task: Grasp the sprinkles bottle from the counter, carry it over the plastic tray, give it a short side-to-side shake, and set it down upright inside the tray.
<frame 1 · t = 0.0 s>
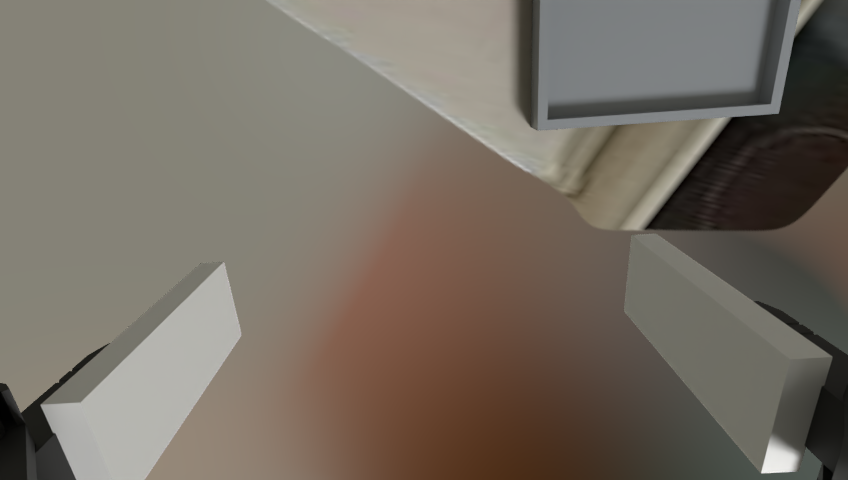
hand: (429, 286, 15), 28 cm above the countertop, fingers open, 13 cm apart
tray: (653, 19, 37), on the countertop
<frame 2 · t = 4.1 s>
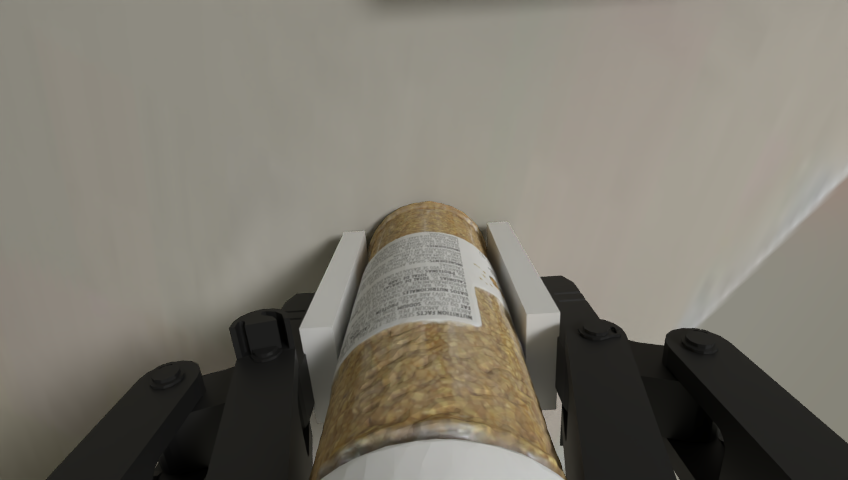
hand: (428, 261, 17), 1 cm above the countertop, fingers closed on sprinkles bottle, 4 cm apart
sprinkles bottle: (426, 252, 18), on the countertop, touching gripper
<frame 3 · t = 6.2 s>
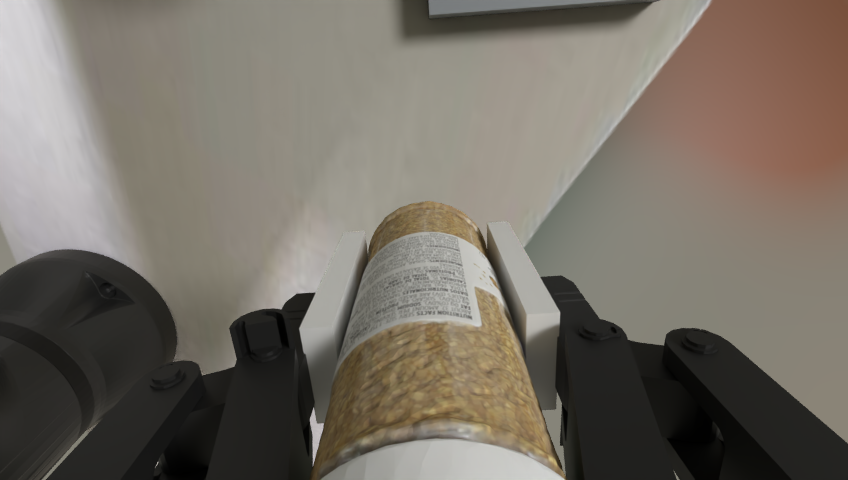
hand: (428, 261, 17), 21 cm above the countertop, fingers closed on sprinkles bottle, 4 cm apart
sprinkles bottle: (426, 252, 18), point 20 cm above the countertop, touching gripper
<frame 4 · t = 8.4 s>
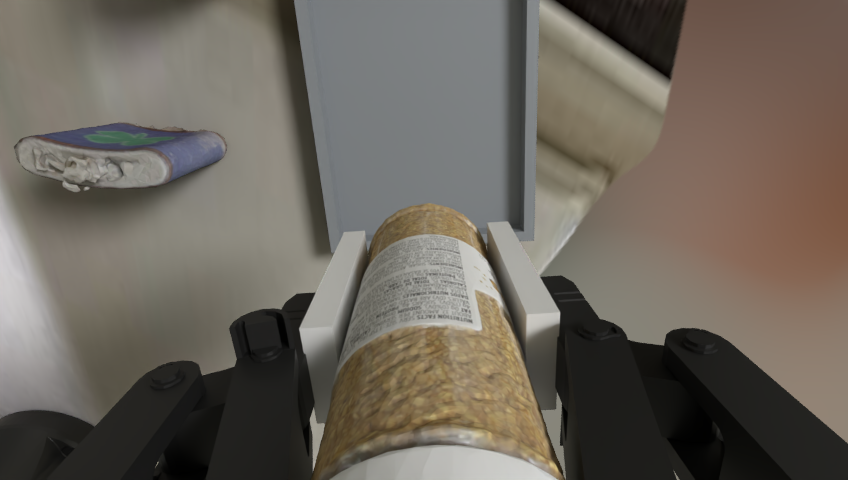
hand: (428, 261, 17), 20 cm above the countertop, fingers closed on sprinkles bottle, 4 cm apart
sprinkles bottle: (426, 254, 18), point 20 cm above the countertop, touching gripper
tray: (423, 112, 35), on the countertop
flask: (170, 142, 36), on the countertop
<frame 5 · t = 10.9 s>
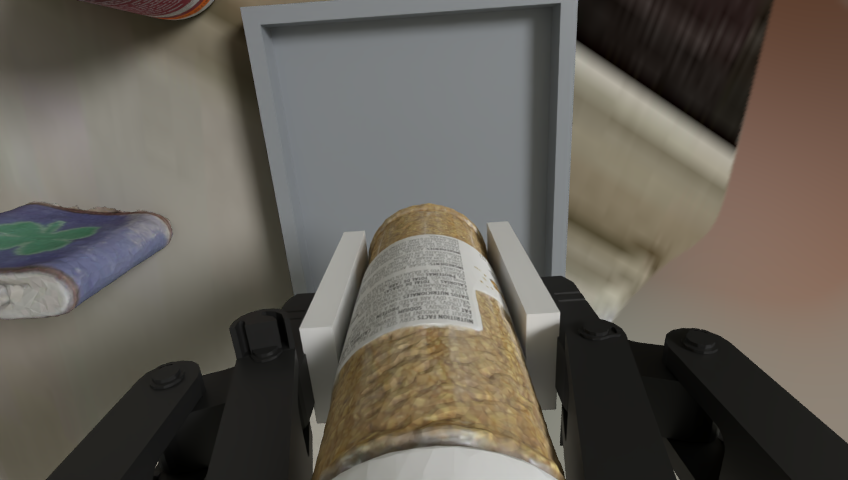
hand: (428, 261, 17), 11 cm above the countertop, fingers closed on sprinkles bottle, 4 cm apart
sprinkles bottle: (426, 254, 18), point 10 cm above the countertop, touching gripper
tray: (422, 188, 27), on the countertop
flask: (100, 225, 28), on the countertop
when the fingers open (3 cm above the countertop, at t = 13.1 s): sprinkles bottle drops 1 cm, resting on tray.
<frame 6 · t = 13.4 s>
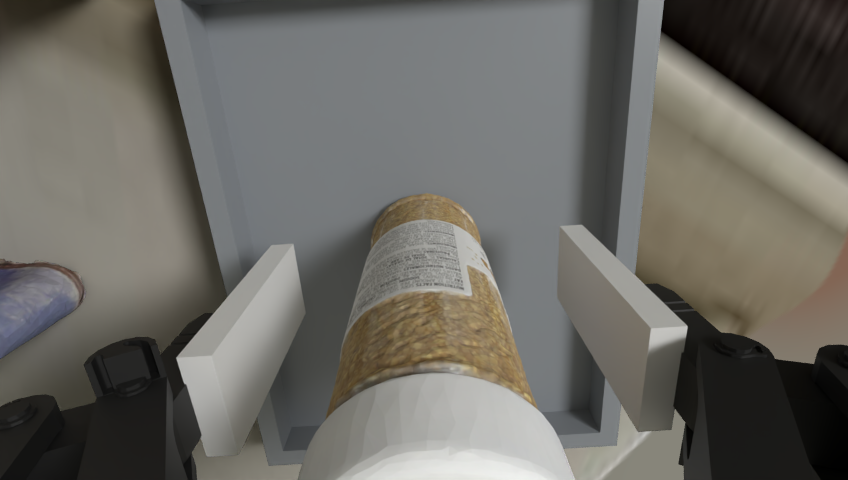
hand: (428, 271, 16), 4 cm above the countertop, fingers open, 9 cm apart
sprinkles bottle: (424, 241, 19), point 1 cm above the countertop, touching tray
tray: (426, 232, 20), on the countertop
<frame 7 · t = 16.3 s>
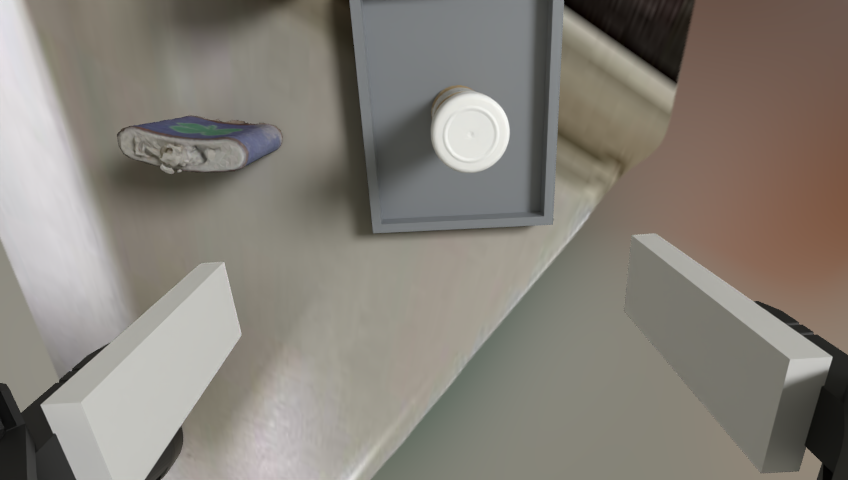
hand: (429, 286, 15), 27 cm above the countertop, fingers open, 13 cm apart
sprinkles bottle: (456, 112, 39), point 1 cm above the countertop, touching tray
tray: (457, 110, 39), on the countertop
flask: (232, 134, 40), on the countertop
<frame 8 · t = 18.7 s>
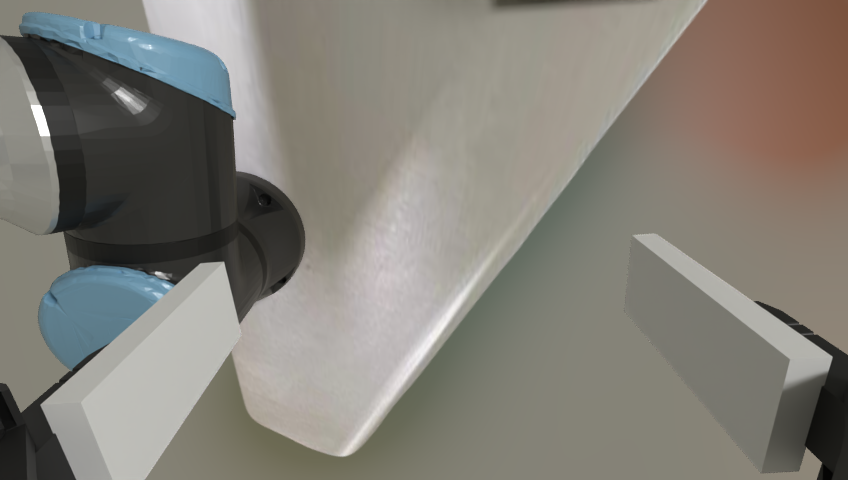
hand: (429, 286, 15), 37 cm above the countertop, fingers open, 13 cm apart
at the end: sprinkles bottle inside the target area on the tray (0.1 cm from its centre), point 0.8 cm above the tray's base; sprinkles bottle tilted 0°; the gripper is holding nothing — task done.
